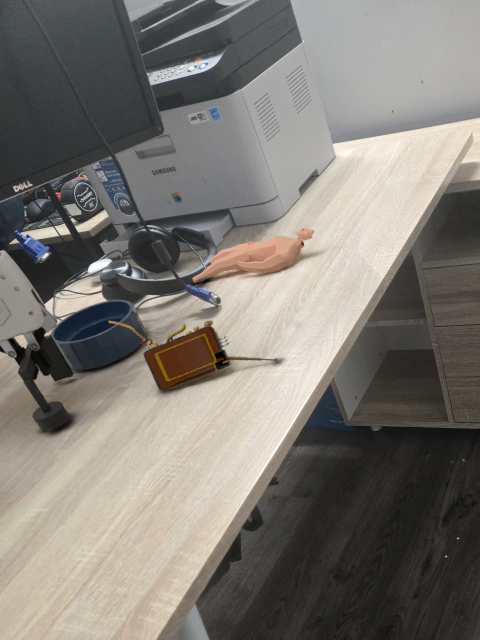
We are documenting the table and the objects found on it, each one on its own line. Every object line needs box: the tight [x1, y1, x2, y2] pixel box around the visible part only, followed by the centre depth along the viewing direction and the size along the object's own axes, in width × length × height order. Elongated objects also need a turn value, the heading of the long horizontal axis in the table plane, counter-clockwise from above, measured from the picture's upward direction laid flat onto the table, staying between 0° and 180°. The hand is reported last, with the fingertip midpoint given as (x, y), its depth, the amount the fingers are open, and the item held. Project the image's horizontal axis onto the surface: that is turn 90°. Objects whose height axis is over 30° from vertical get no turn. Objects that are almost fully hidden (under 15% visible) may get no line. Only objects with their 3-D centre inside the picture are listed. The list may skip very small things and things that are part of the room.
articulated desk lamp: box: [17, 334, 74, 431], centre depth 97 cm, size 16×4×9 cm, turn 16°
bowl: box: [50, 299, 147, 371], centre depth 110 cm, size 14×14×6 cm
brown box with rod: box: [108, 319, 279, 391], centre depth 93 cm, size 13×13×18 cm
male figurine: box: [192, 227, 315, 284], centre depth 124 cm, size 11×5×25 cm
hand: (41, 373), depth 96 cm, fingers closed on articulated desk lamp, 1 cm apart
